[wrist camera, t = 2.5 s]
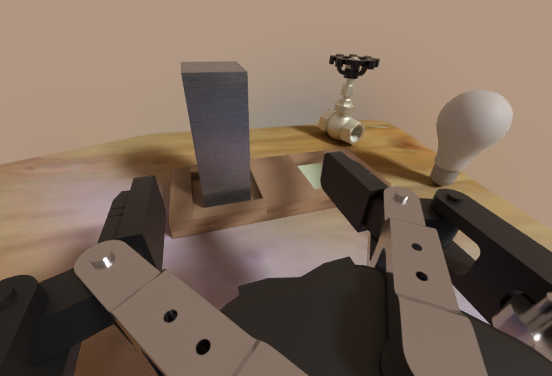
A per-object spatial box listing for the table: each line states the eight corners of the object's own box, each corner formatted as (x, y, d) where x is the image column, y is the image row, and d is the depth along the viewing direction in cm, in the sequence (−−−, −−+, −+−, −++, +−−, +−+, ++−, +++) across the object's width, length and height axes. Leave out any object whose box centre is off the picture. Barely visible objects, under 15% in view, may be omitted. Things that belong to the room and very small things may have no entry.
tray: (173, 238, 21) (168, 223, 20) (174, 182, 28) (171, 168, 27) (386, 197, 27) (391, 184, 26) (344, 159, 34) (346, 147, 33)
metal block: (205, 209, 23) (181, 72, 16) (201, 183, 27) (180, 62, 20) (251, 201, 24) (247, 71, 17) (242, 177, 28) (236, 61, 21)
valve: (338, 151, 36) (357, 62, 29) (309, 136, 40) (320, 54, 33) (367, 142, 39) (390, 59, 32) (337, 128, 44) (352, 53, 37)
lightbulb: (432, 200, 27) (486, 99, 20) (402, 172, 32) (438, 83, 25) (480, 197, 28) (546, 99, 21) (443, 170, 33) (488, 83, 26)
